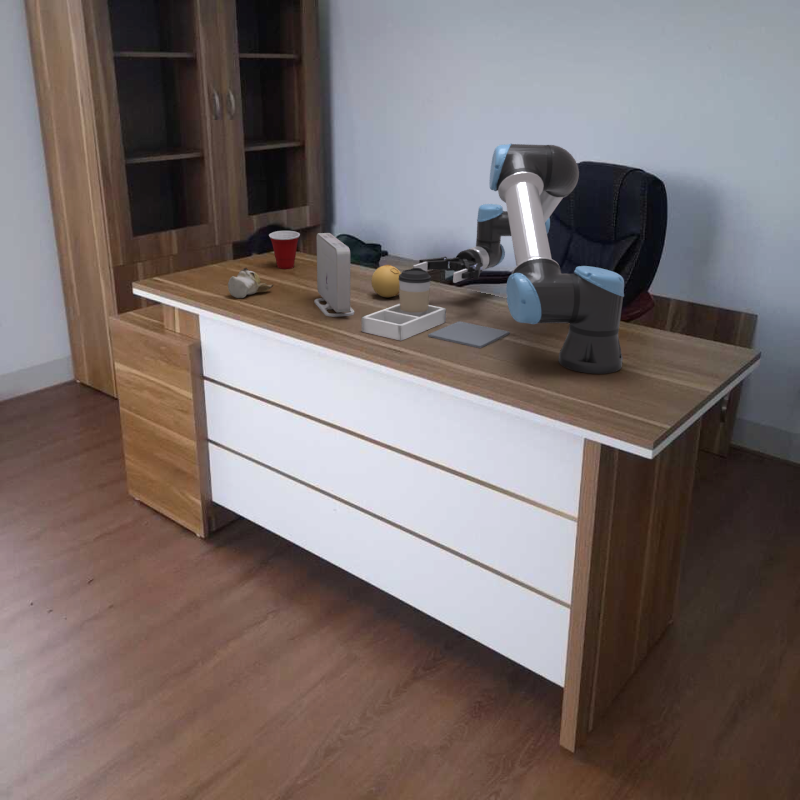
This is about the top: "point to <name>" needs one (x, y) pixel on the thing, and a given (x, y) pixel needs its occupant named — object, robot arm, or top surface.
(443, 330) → the grey mat
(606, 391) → the top surface
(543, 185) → the robot arm
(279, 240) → the plastic cup
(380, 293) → the stress ball
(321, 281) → the network device
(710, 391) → the top surface
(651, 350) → the top surface
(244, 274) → the ceramic sculpture
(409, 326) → the white rectangular frame
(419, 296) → the coffee cup
